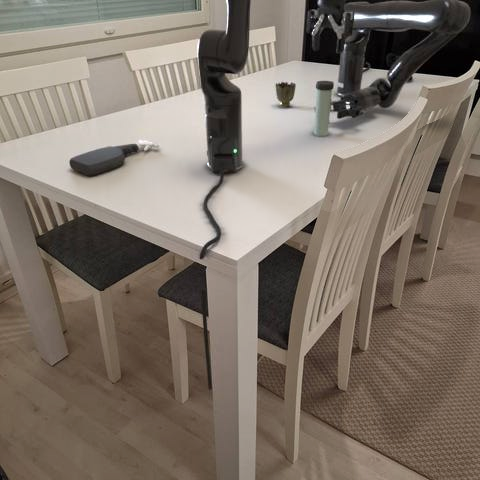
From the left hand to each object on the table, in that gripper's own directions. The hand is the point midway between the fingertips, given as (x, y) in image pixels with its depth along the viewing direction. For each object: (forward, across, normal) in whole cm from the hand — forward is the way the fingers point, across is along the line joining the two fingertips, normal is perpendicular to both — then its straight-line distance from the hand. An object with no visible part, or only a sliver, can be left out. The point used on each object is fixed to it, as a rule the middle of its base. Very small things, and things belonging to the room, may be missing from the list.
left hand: (327, 51), depth 128 cm
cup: (+24, -29, +17) cm, 41 cm away
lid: (+9, 0, 0) cm, 9 cm away
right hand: (+18, 0, +2) cm, 18 cm away
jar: (+24, 0, 0) cm, 24 cm away
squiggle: (+24, -17, +83) cm, 88 cm away
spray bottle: (+24, -29, -56) cm, 67 cm away
